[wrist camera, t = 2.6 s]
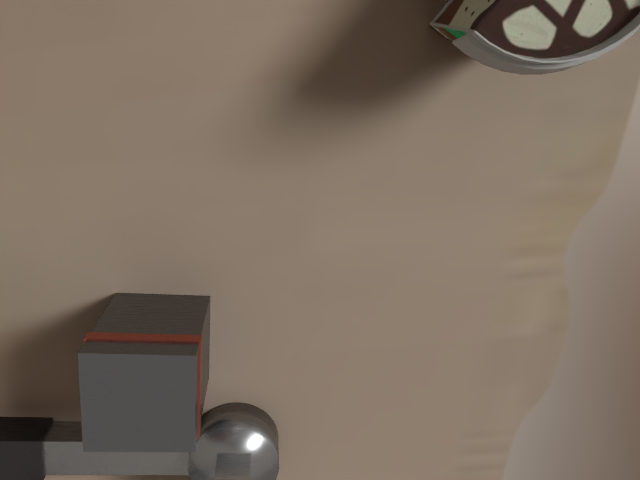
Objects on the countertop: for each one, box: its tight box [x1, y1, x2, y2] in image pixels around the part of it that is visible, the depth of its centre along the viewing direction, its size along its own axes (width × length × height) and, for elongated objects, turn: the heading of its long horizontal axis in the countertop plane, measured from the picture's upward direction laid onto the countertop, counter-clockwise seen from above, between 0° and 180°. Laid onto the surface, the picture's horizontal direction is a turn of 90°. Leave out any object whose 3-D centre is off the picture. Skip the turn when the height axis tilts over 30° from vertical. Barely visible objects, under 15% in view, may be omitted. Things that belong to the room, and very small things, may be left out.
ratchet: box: [0, 403, 279, 480], centre depth 37 cm, size 22×6×8 cm, turn 86°
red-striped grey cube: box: [77, 293, 210, 452], centre depth 35 cm, size 6×6×8 cm
